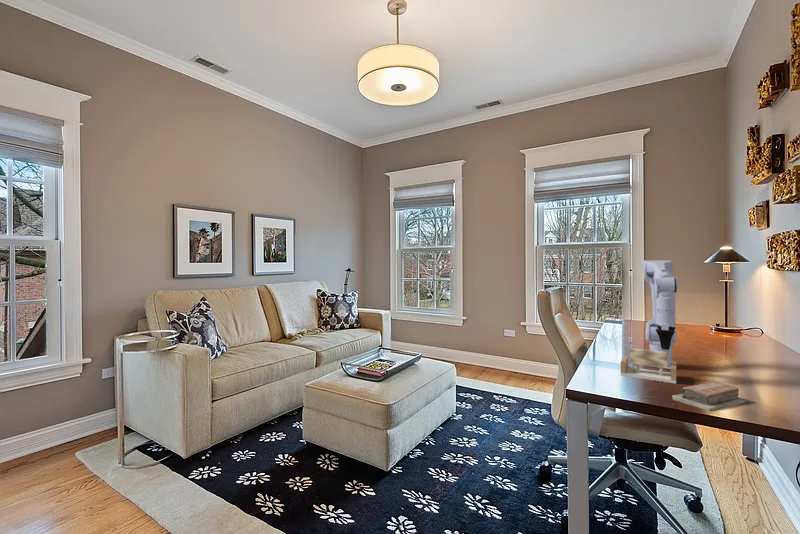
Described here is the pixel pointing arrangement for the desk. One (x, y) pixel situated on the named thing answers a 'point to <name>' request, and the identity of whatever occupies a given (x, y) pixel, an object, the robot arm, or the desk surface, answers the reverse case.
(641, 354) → the shelf board
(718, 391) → the packaged product
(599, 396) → the desk surface
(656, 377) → the wooden peg tray
